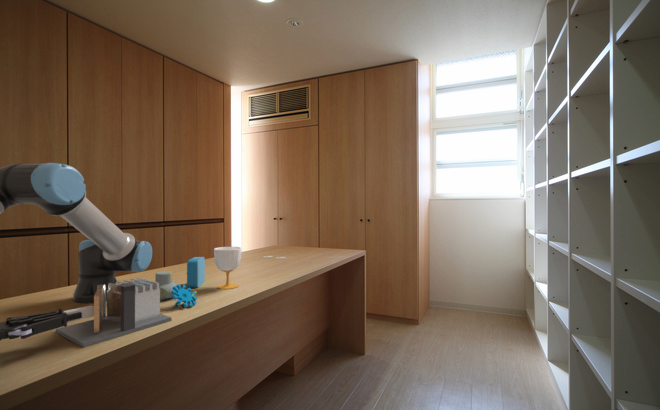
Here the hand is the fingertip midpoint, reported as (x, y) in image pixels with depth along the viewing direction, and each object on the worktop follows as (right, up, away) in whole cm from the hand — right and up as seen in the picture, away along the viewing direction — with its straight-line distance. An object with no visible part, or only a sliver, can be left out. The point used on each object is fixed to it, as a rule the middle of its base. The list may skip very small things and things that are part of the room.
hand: (92, 310), depth 95 cm
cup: (+21, -7, +55) cm, 60 cm away
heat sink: (+5, -7, +11) cm, 14 cm away
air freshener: (+2, -7, +37) cm, 38 cm away
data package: (+6, -7, +58) cm, 59 cm away
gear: (+14, -7, +28) cm, 32 cm away
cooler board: (+2, -7, +7) cm, 10 cm away
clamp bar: (-1, -5, +4) cm, 7 cm away
